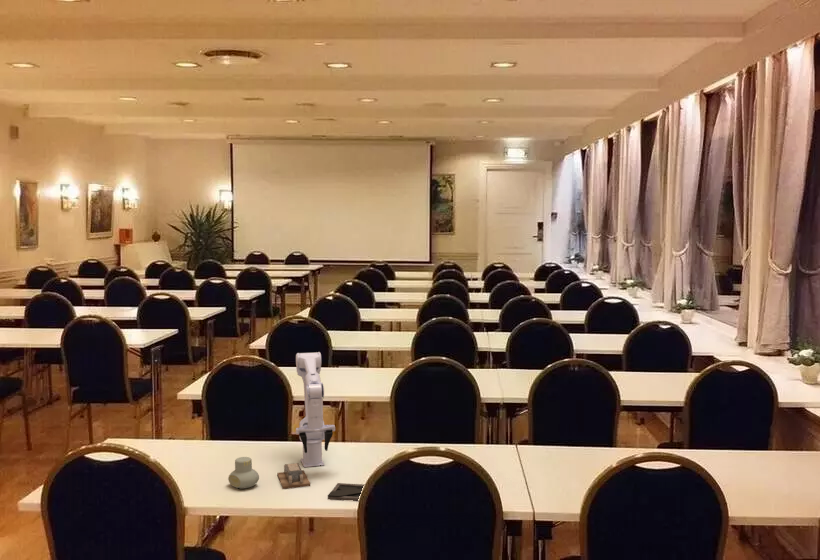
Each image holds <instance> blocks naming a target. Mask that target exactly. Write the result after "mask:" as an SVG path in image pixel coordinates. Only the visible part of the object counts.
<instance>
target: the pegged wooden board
mask: <svg viewBox="0 0 820 560" xmlns="http://www.w3.org/2000/svg"><path fill="white" fill-rule="evenodd" d="M301 470H302V474H301V475H300V482H293V483H292V476H289V483H288V480H287V478H286V476H285V464H284V465H283V471H282V472H281V471H280V472H277V478H278V481H279V483H280V485H281V488H282V490H287V489H288V490H289V489H297V488H306V487H311V482H310V479H309V478H308V476H307V474H306V471H305V470H304V469H301Z"/></svg>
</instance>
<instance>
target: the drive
mask: <svg viewBox="0 0 820 560" xmlns="http://www.w3.org/2000/svg"><path fill="white" fill-rule="evenodd" d="M284 465H285V476H286V478H287V480H288V483H289V476H292V483H293V482H300V475H301V474H302V470H303V469H302V468H301V466H300V464H299V462H296V463H294V462H293V463H288V464H287V463H286V464H285V463H284Z"/></svg>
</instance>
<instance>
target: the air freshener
mask: <svg viewBox="0 0 820 560" xmlns="http://www.w3.org/2000/svg"><path fill="white" fill-rule="evenodd" d="M252 462H253V461H252V458H251V457H250V456H240V457H237V458H235V460H234V470H232V471H231V472H230V474H229V475H228V478H227V480H228V483H229V484H230V485H231V486H232V487H234V488H236V489H238V488H240V489H241V490H242V489H249V488H251V487H253V486H255V485H256V484H257V483H258V482H259V479H260V475H259V473H258V472H257V471H256V470H255V469H253V464H252ZM240 489H239V490H240Z"/></svg>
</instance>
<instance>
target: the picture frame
mask: <svg viewBox="0 0 820 560" xmlns="http://www.w3.org/2000/svg"><path fill="white" fill-rule="evenodd" d="M364 485H365V484H363V483H362V484H359V483H342V482H337V483H336V484H335V486H334V488H332V490H331V491H330V492H329V493H328V495H327V500H328V499H330V500H331V501H344V500H353V501H352V502H359V501H358V499H359V496H360V494H361V491H362V488H363V486H364Z"/></svg>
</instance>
